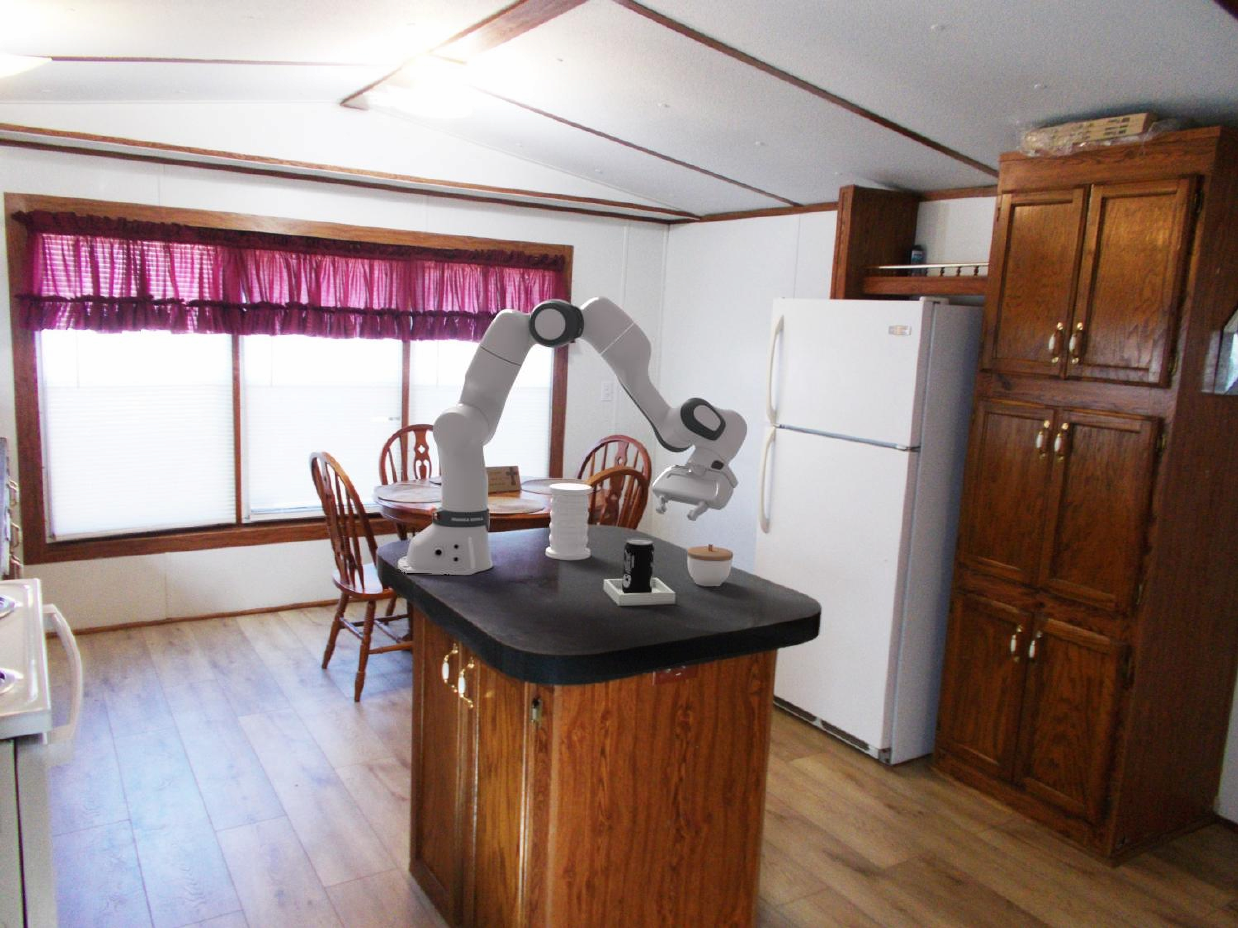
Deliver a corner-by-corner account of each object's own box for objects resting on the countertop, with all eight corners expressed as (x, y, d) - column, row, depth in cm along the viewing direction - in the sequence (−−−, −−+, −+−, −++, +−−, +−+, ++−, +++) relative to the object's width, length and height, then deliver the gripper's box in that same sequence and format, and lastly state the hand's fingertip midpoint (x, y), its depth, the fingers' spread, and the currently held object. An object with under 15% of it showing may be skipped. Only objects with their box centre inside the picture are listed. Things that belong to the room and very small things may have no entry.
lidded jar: (682, 576, 220) (684, 538, 218) (725, 577, 221) (728, 539, 220) (689, 589, 209) (692, 549, 208) (735, 589, 210) (738, 550, 209)
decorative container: (542, 549, 241) (544, 482, 239) (585, 549, 244) (588, 483, 242) (549, 560, 230) (551, 490, 228) (594, 559, 233) (597, 490, 231)
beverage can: (648, 599, 197) (651, 545, 195) (618, 596, 198) (621, 542, 196) (654, 591, 203) (657, 539, 201) (625, 588, 204) (627, 536, 203)
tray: (618, 605, 193) (619, 594, 193) (603, 589, 205) (603, 579, 205) (674, 603, 197) (675, 592, 196) (656, 587, 209) (657, 577, 208)
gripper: (664, 455, 217) (634, 499, 212) (733, 466, 203) (703, 513, 197) (676, 472, 221) (647, 516, 215) (744, 484, 207) (715, 531, 201)
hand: (674, 515), depth 206 cm, fingers open, 8 cm apart
